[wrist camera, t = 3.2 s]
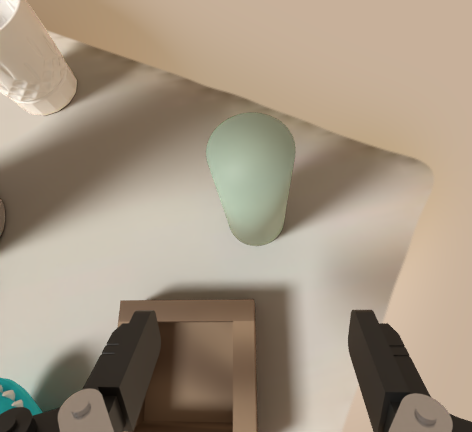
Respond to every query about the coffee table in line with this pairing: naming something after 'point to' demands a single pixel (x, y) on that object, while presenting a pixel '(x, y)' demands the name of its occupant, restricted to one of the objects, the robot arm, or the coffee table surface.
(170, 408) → the socket base
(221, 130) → the post
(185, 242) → the coffee table surface
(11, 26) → the white cup
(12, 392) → the toy shark
